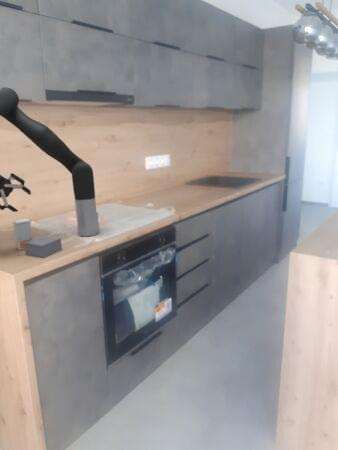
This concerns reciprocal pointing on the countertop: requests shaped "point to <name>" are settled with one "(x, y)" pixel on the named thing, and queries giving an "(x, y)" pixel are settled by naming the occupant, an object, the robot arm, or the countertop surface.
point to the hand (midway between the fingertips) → (24, 202)
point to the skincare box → (22, 232)
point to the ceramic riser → (43, 246)
